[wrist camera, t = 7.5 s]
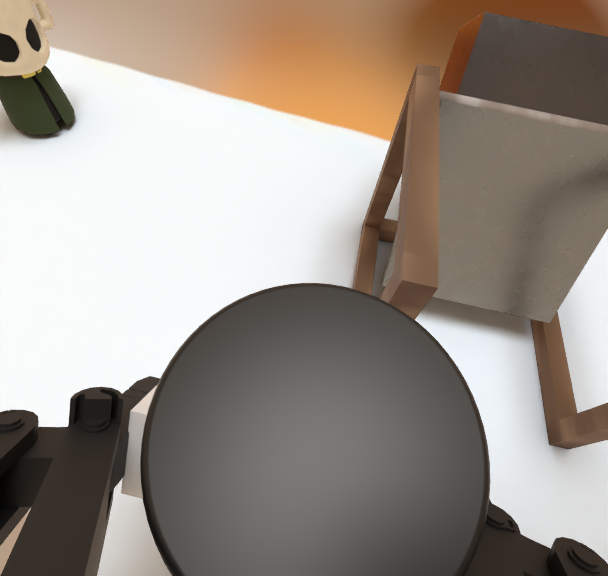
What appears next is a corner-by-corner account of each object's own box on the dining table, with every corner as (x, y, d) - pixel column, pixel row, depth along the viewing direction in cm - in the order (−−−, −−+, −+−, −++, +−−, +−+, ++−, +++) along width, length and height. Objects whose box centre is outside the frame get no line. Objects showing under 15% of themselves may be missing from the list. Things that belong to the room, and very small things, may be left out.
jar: (267, 366, 22) (266, 228, 12) (397, 436, 20) (524, 348, 10) (168, 527, 17) (27, 530, 7) (325, 634, 16) (428, 828, 6)
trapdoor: (626, 62, 28) (714, 54, 21) (514, 279, 38) (549, 323, 31) (445, 25, 29) (473, 5, 22) (377, 249, 38) (382, 285, 31)
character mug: (24, 160, 39) (-69, 16, 28) (-21, 132, 40) (-126, -14, 29) (107, 112, 44) (56, -24, 33) (65, 89, 46) (3, -48, 35)
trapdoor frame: (536, 262, 38) (687, 118, 24) (569, 449, 28) (850, 380, 15) (362, 224, 38) (417, 62, 25) (336, 394, 29) (401, 279, 15)
